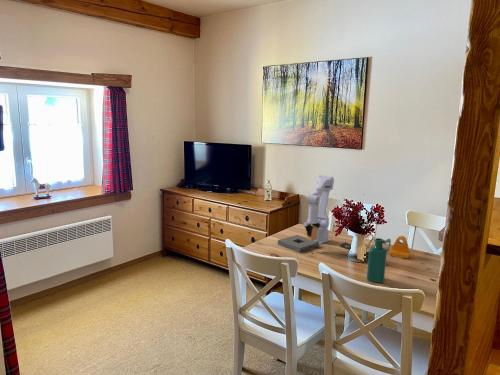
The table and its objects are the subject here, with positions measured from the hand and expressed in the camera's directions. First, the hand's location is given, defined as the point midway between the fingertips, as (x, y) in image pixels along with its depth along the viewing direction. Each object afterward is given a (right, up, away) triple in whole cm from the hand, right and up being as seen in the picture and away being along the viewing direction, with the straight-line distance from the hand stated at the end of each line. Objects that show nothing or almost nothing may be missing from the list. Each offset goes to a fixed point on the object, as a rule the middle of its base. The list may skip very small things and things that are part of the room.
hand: (311, 235), depth 237 cm
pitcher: (+27, -18, -40) cm, 52 cm away
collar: (-7, -8, +9) cm, 14 cm away
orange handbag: (+53, -12, -5) cm, 54 cm away
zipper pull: (+27, -13, -11) cm, 32 cm away
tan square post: (0, -2, 0) cm, 2 cm away
